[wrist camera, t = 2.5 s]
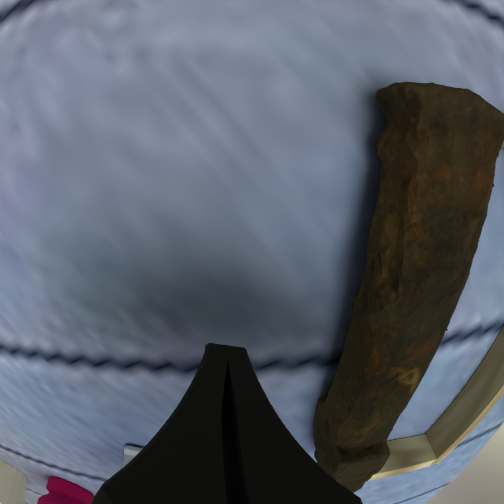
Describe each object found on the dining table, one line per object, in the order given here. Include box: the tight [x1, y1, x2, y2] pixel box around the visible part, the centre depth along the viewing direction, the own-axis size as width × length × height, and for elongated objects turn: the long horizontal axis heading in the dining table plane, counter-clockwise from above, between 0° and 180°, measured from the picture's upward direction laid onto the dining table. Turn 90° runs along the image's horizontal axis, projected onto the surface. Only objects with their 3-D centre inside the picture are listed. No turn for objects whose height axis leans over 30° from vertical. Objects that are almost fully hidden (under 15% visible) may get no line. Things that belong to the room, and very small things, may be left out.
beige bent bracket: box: [368, 142, 504, 481], centre depth 14 cm, size 9×24×3 cm, turn 168°
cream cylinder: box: [0, 460, 28, 504], centre depth 21 cm, size 7×7×7 cm
